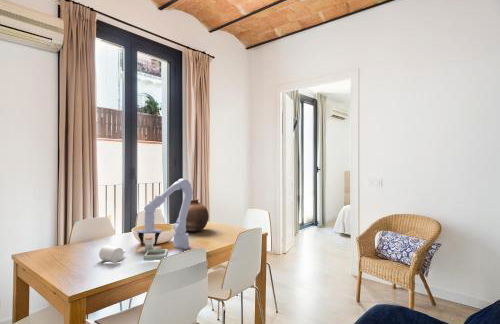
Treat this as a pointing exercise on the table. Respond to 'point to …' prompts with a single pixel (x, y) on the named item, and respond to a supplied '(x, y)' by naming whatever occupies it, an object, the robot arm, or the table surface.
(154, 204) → the robot arm
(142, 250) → the clip board
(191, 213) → the pottery
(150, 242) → the white and orange block
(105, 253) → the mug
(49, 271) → the table surface
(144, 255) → the tray
